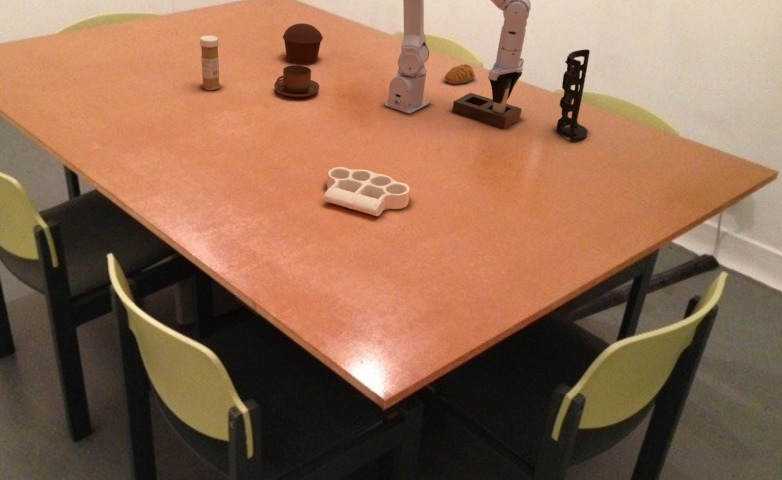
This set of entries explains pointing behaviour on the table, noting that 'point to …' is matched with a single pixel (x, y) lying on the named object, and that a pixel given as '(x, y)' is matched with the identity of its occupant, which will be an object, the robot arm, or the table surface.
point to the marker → (502, 105)
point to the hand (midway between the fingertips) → (500, 100)
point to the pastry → (460, 74)
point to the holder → (573, 96)
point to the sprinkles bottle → (210, 62)
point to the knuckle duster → (365, 191)
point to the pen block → (485, 110)
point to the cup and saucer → (296, 82)
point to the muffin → (302, 43)
